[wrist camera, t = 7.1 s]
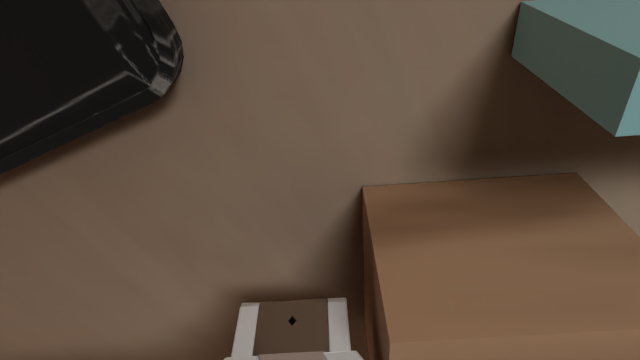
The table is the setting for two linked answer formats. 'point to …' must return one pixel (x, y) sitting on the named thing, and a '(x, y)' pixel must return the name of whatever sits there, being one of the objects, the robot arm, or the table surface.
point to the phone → (78, 69)
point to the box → (586, 56)
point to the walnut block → (499, 271)
